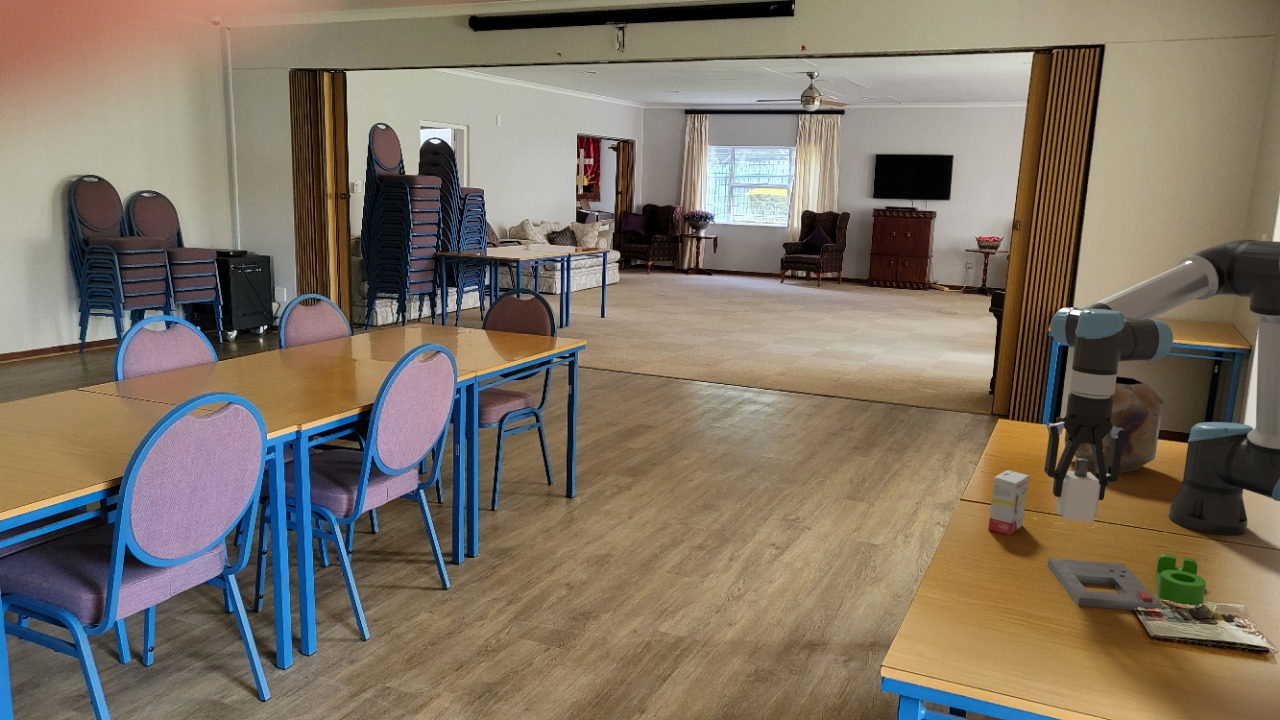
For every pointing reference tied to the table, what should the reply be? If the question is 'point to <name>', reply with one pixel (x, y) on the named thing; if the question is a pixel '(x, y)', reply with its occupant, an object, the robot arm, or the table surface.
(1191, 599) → the green ring bracket
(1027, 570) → the table surface
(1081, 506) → the plug
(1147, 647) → the table surface
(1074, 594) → the socket plate
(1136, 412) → the planter
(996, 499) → the ink box
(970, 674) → the table surface
